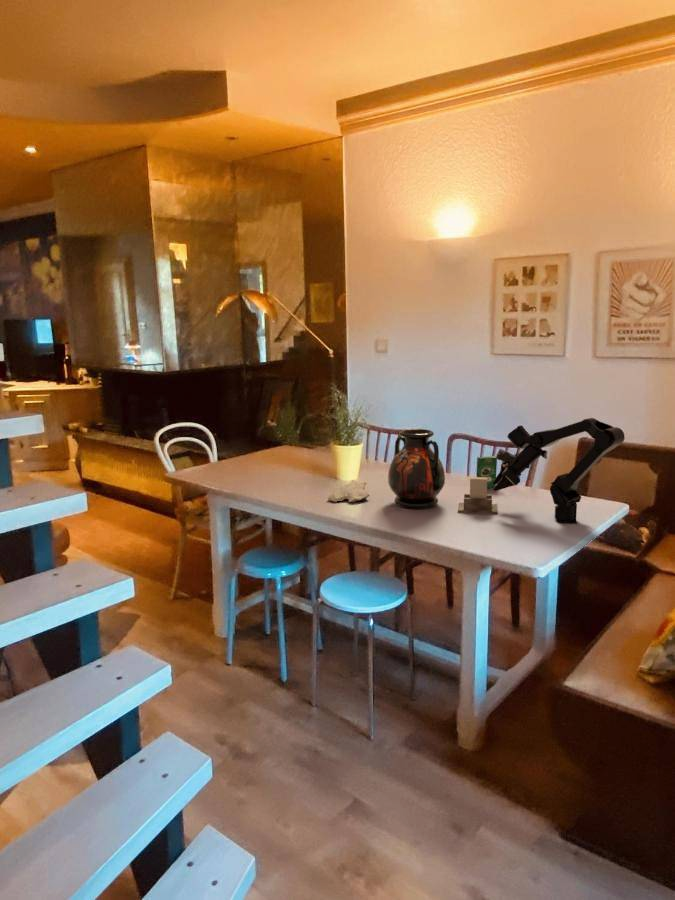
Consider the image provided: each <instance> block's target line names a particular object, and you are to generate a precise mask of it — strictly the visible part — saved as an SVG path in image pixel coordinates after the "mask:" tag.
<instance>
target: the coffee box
mask: <svg viewBox="0 0 675 900" xmlns="http://www.w3.org/2000/svg"><path fill="white" fill-rule="evenodd" d="M497 465H498V459H496V456H494V455H493V456H480V457H479V456H478V457H477V458H476V476H475V477H487V489H493V488H494V487H495V486H496V485H494V484H493V481H494V480H495V478H496V477H497V467H498V466H497Z"/></svg>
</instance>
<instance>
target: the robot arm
mask: <svg viewBox="0 0 675 900" xmlns="http://www.w3.org/2000/svg"><path fill="white" fill-rule="evenodd" d="M584 432H586V433H587V434H588V435H589V436H590V437H591V438H592V439H594V441H593V446H591V449H589V451H588V452H587V453H586V454H585V455H584V456H583V457H582V458H581V459H580V460H579V462H578V463H576V465H575V466H573V468H572V469H571V470H570V471H569V472H568V473H567V472H566V473H562V474H560V475H557V476H556V478H555V480H553V481H552V482H550V484H551V485H550V487H549V492H550V496H551V498H552V501H553V504H554V505H555V506H554V519H555V520H556V522H557V523H564V524H565V523H566V524H577V523H578V519H577V513H578V512H577V511H578V509H577V508H578V504H577V503H579V502H581V499H582V496H581V494H580V493H579V491H577V489H578V486H579V483H580V481H581V480H582V479H583V478H584V477H585V476H586V475H587V474H588V473H589V472H590V471H591V469H592V468H594V467H595V465H596V464H597V463H598V462H599V461H600V460H601V459H602V458H603V457H604V456H605V455H606V454H608V453H609V452H611V451H612V450H614V449H615V448H617V447H618V446H620V445H621V444H622V443H624V442H625V439H626V438H625V433H624V431H623V429H621V428H620V427H616V426H612V425H610V424H608V423H605V422H602V421H600V420H599V419H596V418H594V417H587V418H585V419H583V420H580V421H577V422H574V423H571V424H569V425H565V426H563V427H559V428H553V429H546V430H540V431H536V432H534V433H533V434H530V433H529V432H527V430H526V428H525V427H524V426H523V425H518V426H517V427H515V428H514V429H512V431H510V432H509V433H508V435H507V439H508V440H509V441H510V442H511V443H512V444H513V446H514V447H516V448H517V449H518V450H519V449H520V450H521V451H519V452H517V453H515V454H512V453H511V452H509V451H507V450H504V449H503V448H499V449H498V451H497V453H496V455H495V457H496V459H497V461H498V460H499V461H502V462H501V464H500V471H499V473H498V474H496V478H495V480H494V481H493V484H494V485H496V486H495V487H494V488H492V490H493V491H494V492H497V491H498V492H499V491H500V490H503V489H507V488H509V487H514V486H518V485H519V484H520V482H521V476H522V474H523V472H525V470H527V469H529V468H530V467H531V465H532V464H533V463H534V462H536V461H537V459H539V458H540V457H542V458H543V459H546V460H547V459H548V450H543V448H546V447H551V446H552V445H554V444H556V443H558V442H559V441H562V440H563V439H565V438H568V437H569V438H570V437H572V436H575V435H579V434H583V433H584Z"/></svg>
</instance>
